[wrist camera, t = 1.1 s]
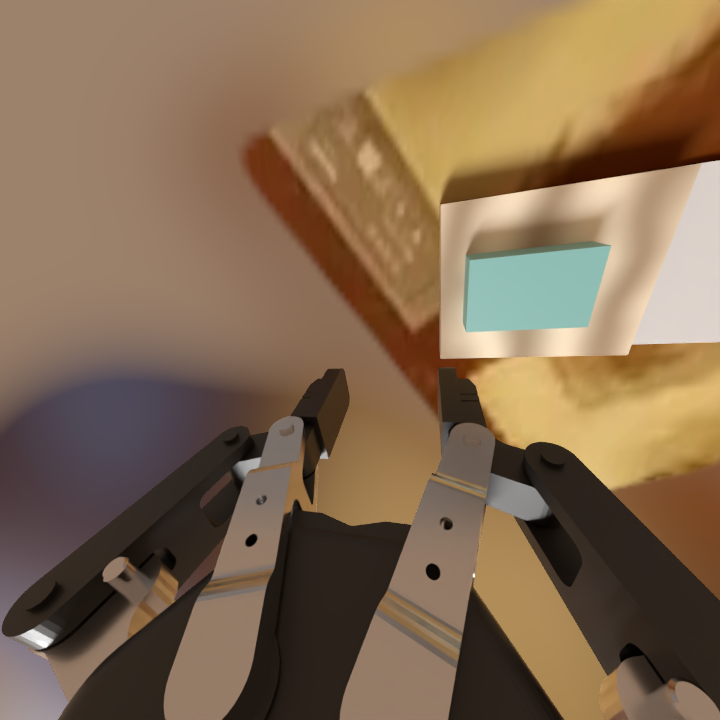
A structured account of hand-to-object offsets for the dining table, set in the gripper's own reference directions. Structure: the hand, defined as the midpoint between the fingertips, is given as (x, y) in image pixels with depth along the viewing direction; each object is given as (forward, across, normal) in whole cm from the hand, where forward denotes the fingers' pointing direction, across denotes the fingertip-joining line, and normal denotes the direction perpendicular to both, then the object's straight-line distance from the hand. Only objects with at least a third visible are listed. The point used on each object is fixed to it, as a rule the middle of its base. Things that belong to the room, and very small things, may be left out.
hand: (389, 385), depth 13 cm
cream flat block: (+17, -11, 0) cm, 21 cm away
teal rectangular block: (+15, -10, 0) cm, 18 cm away
